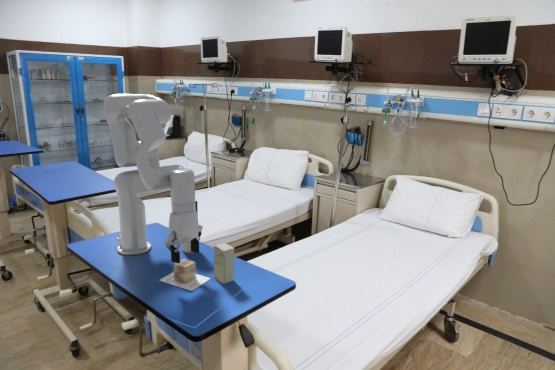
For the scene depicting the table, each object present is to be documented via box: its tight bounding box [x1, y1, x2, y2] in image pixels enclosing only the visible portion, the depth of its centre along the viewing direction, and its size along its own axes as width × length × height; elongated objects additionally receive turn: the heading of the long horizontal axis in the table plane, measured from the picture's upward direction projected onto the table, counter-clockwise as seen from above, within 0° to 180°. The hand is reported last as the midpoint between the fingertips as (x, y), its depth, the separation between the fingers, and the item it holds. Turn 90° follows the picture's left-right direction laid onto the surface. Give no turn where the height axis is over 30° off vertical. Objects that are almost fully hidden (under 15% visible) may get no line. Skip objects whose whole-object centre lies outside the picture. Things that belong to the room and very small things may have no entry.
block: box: [173, 258, 197, 284], centre depth 132 cm, size 5×5×6 cm
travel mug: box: [181, 200, 199, 255], centre depth 154 cm, size 6×7×20 cm
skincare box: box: [213, 241, 235, 285], centre depth 133 cm, size 6×4×12 cm
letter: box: [158, 271, 212, 292], centre depth 133 cm, size 14×10×1 cm
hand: (185, 256), depth 131 cm, fingers open, 9 cm apart
